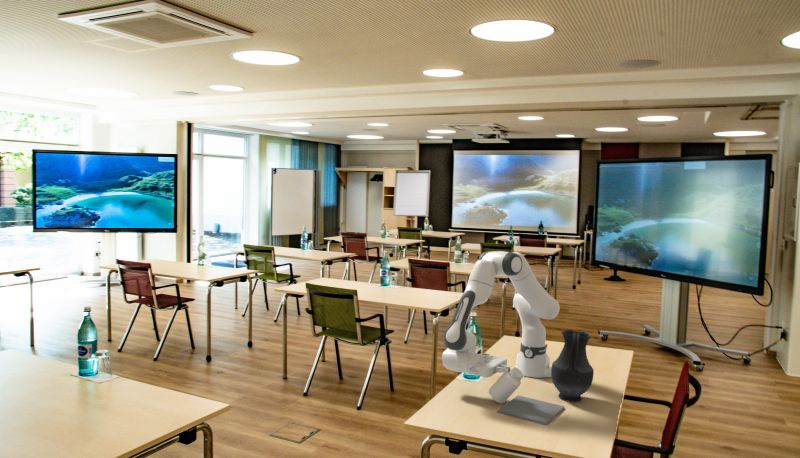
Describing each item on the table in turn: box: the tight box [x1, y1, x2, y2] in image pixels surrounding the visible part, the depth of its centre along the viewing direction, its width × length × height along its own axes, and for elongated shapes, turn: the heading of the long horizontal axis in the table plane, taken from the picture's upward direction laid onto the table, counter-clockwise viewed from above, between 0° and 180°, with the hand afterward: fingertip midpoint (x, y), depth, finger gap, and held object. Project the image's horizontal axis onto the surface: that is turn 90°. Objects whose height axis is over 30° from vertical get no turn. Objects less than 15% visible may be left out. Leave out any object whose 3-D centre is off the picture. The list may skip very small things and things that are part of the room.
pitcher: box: [550, 329, 595, 403], centre depth 253 cm, size 17×21×30 cm
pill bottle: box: [488, 366, 524, 404], centre depth 244 cm, size 8×8×15 cm
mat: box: [496, 395, 565, 426], centre depth 239 cm, size 22×20×1 cm
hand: (509, 369), depth 243 cm, fingers closed
